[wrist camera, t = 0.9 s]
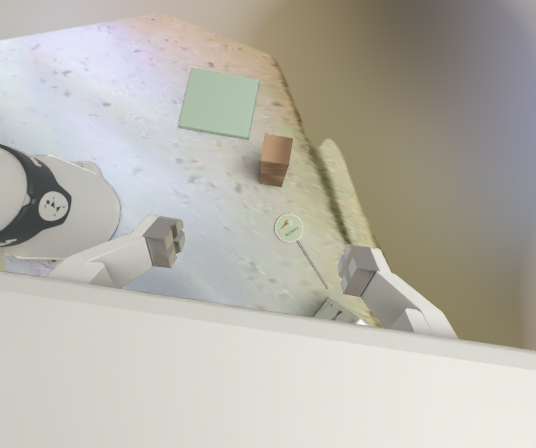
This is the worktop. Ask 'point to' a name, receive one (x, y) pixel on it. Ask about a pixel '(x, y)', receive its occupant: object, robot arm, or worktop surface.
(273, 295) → the worktop surface
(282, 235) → the sign
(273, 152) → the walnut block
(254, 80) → the rubber mat
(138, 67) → the worktop surface
